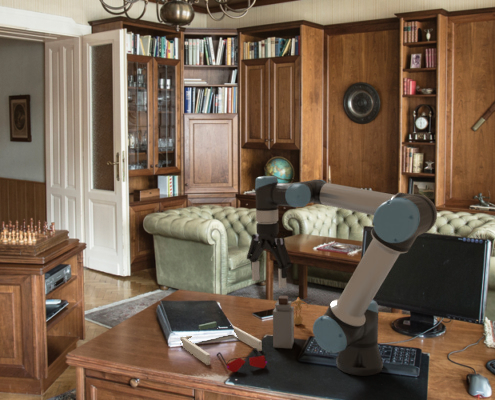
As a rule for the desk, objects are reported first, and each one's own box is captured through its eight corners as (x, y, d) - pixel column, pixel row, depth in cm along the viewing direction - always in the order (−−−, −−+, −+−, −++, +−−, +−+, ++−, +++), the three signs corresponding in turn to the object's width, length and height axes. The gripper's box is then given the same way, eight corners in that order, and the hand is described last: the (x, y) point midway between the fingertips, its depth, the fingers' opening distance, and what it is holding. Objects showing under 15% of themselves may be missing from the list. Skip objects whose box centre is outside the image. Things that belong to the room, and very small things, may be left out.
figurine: (307, 322, 228) (307, 294, 227) (309, 327, 222) (309, 298, 221) (287, 323, 228) (286, 294, 227) (288, 328, 222) (288, 299, 221)
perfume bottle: (291, 348, 201) (291, 300, 199) (273, 347, 203) (272, 299, 200) (293, 341, 208) (293, 294, 206) (276, 340, 209) (275, 294, 207)
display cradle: (261, 350, 200) (261, 332, 199) (207, 365, 188) (206, 346, 187) (232, 333, 217) (232, 317, 216) (180, 346, 205) (180, 329, 204)
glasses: (227, 375, 181) (226, 360, 180) (216, 355, 197) (216, 342, 196) (267, 369, 184) (267, 355, 184) (254, 351, 200) (254, 337, 200)
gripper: (301, 224, 180) (302, 288, 183) (252, 217, 200) (253, 275, 202) (284, 227, 176) (286, 292, 178) (235, 219, 195) (237, 279, 197)
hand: (268, 283), depth 190 cm, fingers open, 13 cm apart
